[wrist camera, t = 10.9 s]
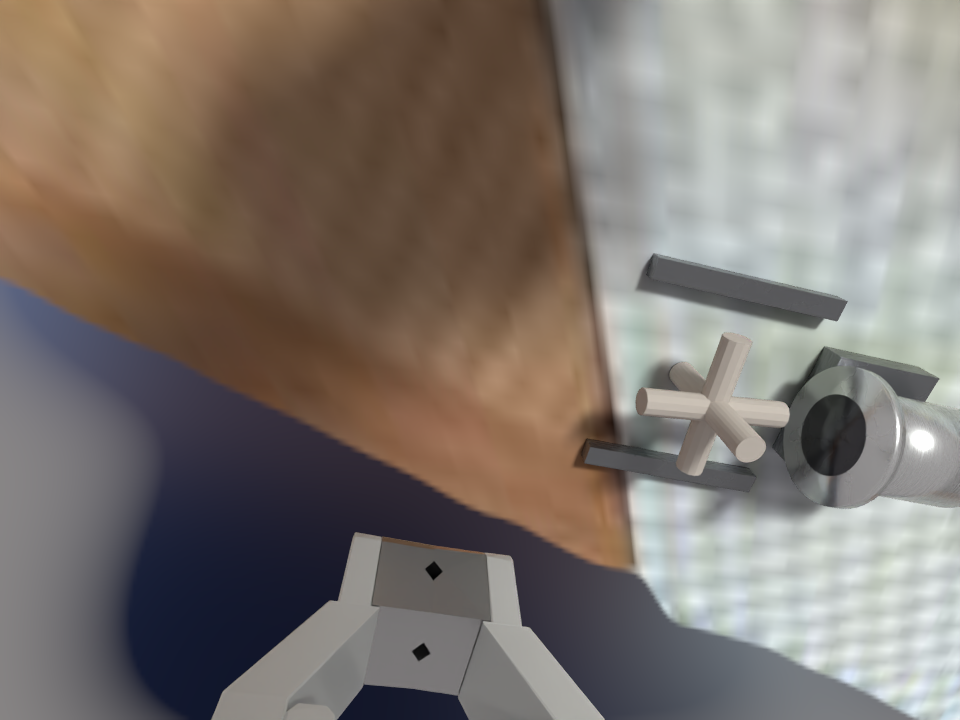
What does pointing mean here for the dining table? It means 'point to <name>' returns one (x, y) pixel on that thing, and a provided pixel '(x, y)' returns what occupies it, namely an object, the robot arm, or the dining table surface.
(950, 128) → the dining table surface
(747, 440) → the pipe connector
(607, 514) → the dining table surface
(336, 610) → the robot arm
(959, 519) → the dining table surface
